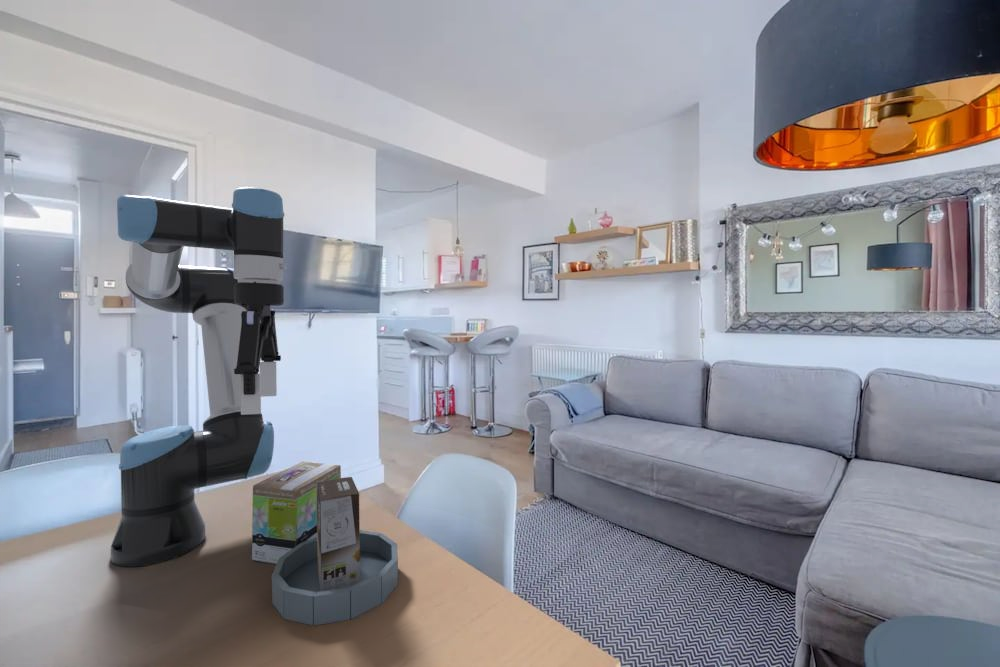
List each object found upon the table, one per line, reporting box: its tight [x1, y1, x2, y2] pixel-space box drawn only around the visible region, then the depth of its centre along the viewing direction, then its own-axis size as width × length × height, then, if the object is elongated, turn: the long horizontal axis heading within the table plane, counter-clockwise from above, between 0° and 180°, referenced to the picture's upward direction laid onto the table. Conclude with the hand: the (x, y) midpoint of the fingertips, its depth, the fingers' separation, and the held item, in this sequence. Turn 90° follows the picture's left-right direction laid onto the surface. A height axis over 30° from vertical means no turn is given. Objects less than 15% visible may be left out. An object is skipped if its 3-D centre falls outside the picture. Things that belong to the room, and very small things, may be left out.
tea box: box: [251, 461, 342, 565], centre depth 90 cm, size 15×10×15 cm
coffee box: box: [316, 476, 361, 591], centre depth 77 cm, size 9×6×16 cm
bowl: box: [271, 529, 399, 626], centre depth 77 cm, size 20×20×4 cm
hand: (260, 404), depth 77 cm, fingers open, 13 cm apart
